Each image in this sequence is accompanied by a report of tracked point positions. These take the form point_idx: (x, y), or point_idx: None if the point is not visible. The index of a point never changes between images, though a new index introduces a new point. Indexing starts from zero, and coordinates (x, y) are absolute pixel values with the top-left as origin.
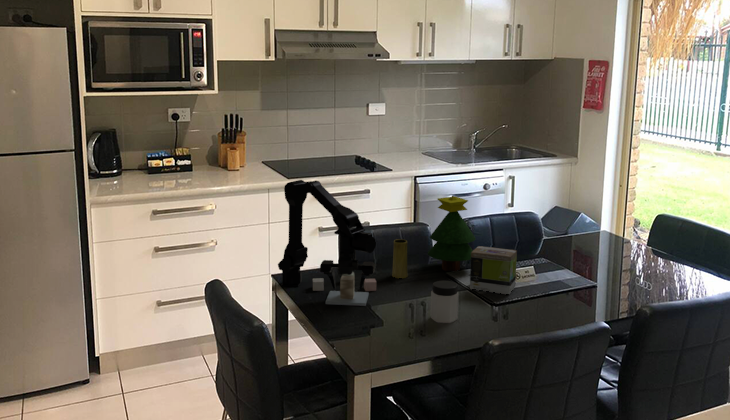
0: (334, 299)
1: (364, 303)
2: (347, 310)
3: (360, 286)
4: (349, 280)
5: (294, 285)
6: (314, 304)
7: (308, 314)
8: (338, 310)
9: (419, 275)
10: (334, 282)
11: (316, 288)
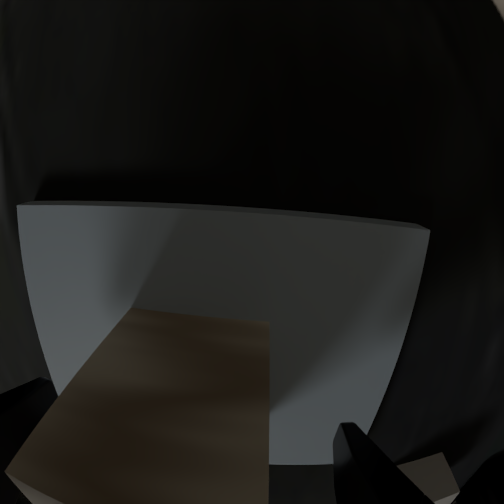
0: (335, 294)
1: (25, 203)
2: (173, 53)
3: (11, 401)
4: (59, 495)
5: (498, 461)
6: (495, 216)
7: (495, 7)
8: (270, 42)
9: (26, 497)
10: (363, 501)
11: (427, 468)
